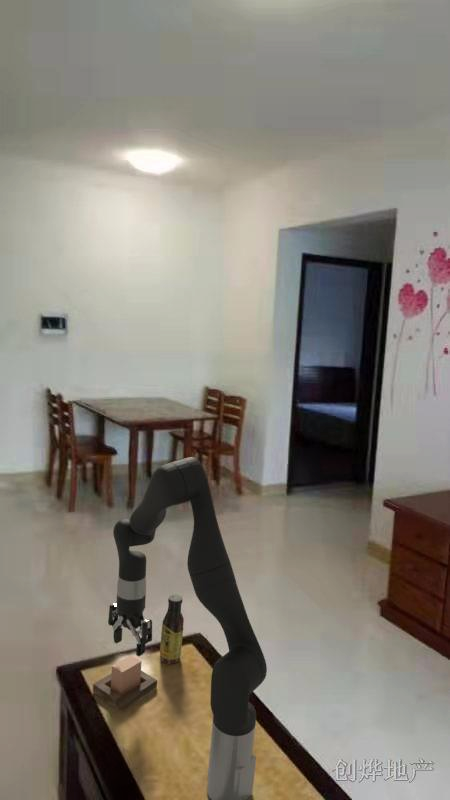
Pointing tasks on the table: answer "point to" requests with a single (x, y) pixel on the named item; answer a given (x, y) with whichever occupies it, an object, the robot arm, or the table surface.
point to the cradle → (129, 698)
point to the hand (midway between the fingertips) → (128, 648)
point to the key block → (126, 675)
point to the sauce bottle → (172, 631)
